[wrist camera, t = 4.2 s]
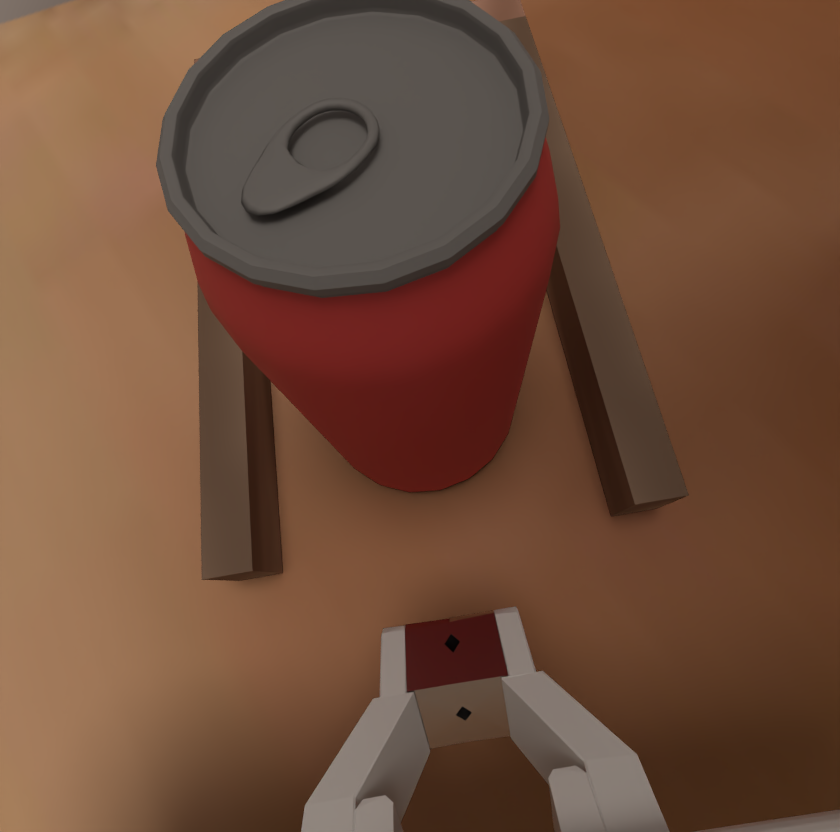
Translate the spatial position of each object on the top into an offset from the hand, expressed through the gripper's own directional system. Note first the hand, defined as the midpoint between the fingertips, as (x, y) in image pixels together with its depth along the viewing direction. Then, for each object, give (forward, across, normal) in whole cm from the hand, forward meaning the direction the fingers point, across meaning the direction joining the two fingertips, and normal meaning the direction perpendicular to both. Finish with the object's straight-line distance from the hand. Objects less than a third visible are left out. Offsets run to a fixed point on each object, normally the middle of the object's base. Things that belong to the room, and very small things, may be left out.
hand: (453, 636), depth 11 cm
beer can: (+9, 0, -2) cm, 9 cm away
